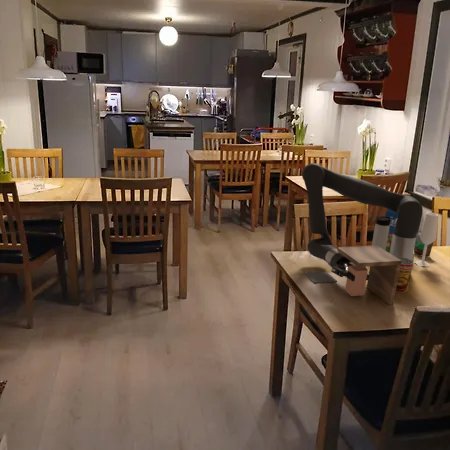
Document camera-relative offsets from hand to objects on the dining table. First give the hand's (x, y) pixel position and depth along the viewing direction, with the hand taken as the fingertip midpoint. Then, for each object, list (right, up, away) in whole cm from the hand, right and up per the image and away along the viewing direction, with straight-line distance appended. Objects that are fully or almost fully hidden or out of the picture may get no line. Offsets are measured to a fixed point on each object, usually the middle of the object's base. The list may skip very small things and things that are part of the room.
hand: (360, 278), depth 167 cm
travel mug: (+21, +4, +46) cm, 51 cm away
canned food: (+19, -6, +15) cm, 25 cm away
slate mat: (-11, -2, +20) cm, 23 cm away
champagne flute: (+40, +1, +41) cm, 58 cm away
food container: (+45, +6, +55) cm, 71 cm away
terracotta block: (-1, -6, +4) cm, 7 cm away
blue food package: (+32, +6, +55) cm, 64 cm away
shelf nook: (+2, -8, +5) cm, 9 cm away
